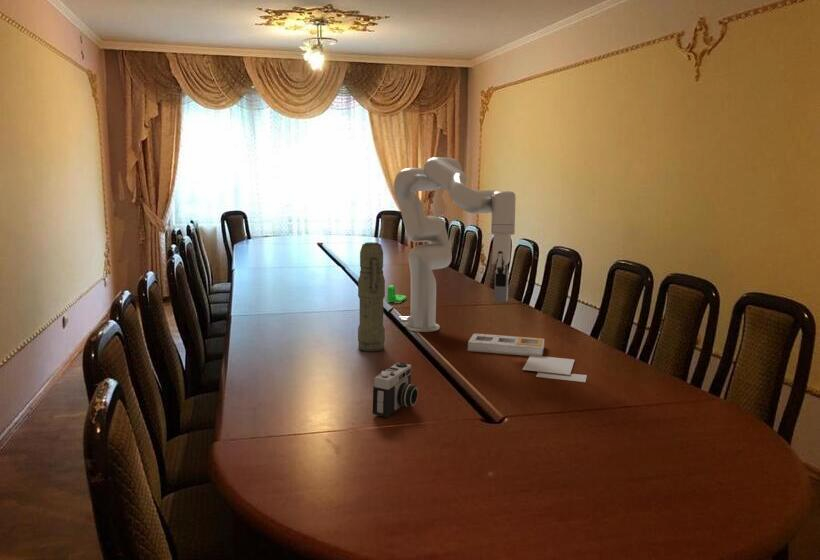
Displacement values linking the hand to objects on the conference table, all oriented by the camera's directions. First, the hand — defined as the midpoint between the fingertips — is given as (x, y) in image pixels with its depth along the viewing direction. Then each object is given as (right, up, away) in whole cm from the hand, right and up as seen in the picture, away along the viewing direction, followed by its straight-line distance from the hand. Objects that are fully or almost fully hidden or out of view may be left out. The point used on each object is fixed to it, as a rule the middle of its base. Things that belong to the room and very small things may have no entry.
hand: (501, 284), depth 211 cm
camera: (-33, -31, -52) cm, 69 cm away
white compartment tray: (+2, -22, +3) cm, 22 cm away
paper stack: (+16, -26, -20) cm, 36 cm away
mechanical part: (-36, -9, +80) cm, 88 cm away
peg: (0, -5, +1) cm, 5 cm away
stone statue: (-43, -21, +3) cm, 48 cm away
